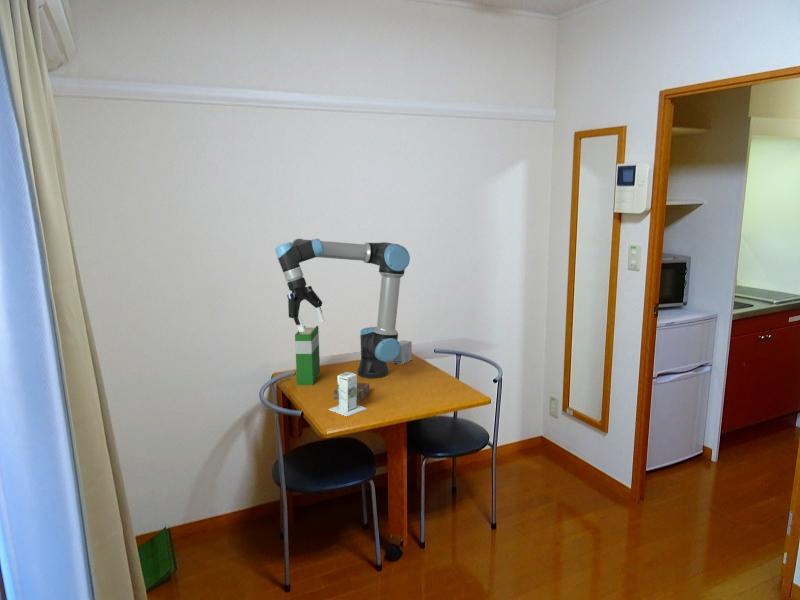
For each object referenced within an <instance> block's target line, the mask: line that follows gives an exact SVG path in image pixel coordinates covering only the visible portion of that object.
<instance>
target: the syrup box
mask: <svg viewBox="0 0 800 600" xmlns="http://www.w3.org/2000/svg"><path fill="white" fill-rule="evenodd" d="M357 383H358V374H356V373H353V372H349V371H346V372H344V373H340V374H337V387H338V400H337V406H338V409H341V410H344V411H350V410H353V409H355V408H357V405H358V401H357Z"/></svg>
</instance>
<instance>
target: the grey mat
mask: <svg viewBox="0 0 800 600" xmlns="http://www.w3.org/2000/svg"><path fill="white" fill-rule="evenodd" d="M367 409H368V408H367V407H364V406H361V405H359V404H357V408H355V409H353V410H350V411H344V410H341V409H338V405H336V406H334V407H330V408H328V411H331V412H333V413H335V412H336V414H338V415H340V414H341V416H343V415H344V416H343V417H345V416H346V417H345V418H347V416H348V417H350V416H353V415H356V414H358V413H361V412H363V411H366V410H367Z"/></svg>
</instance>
